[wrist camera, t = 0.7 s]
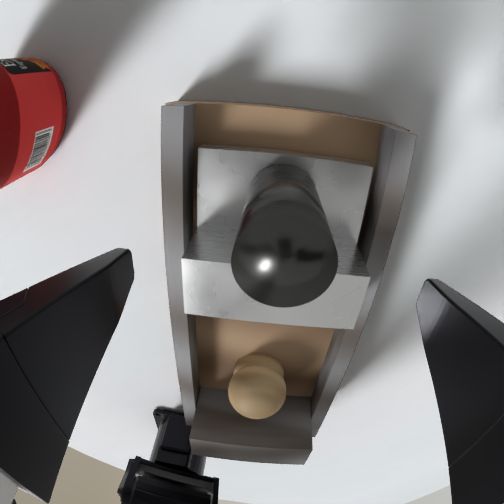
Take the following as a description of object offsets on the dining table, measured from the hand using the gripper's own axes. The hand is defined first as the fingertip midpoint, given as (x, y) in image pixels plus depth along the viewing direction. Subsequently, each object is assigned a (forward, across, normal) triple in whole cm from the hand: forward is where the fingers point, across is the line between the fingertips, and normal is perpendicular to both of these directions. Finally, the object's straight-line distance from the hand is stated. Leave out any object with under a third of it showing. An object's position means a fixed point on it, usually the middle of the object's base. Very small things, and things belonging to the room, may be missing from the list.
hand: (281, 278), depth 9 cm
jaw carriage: (+8, 0, +1) cm, 8 cm away
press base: (+10, 0, +8) cm, 13 cm away
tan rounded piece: (+8, 0, +13) cm, 16 cm away
